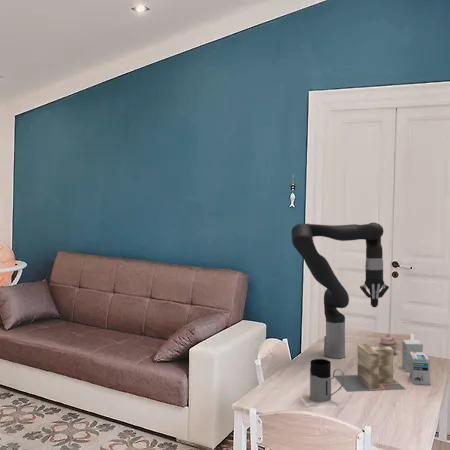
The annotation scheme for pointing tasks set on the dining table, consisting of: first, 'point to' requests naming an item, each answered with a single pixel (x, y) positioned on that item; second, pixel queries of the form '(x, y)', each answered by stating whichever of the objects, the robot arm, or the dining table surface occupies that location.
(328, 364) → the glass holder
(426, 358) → the light bulb box
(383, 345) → the cupcake
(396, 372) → the dining table surface
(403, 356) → the supplement box
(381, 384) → the charcoal board
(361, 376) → the maple T block
